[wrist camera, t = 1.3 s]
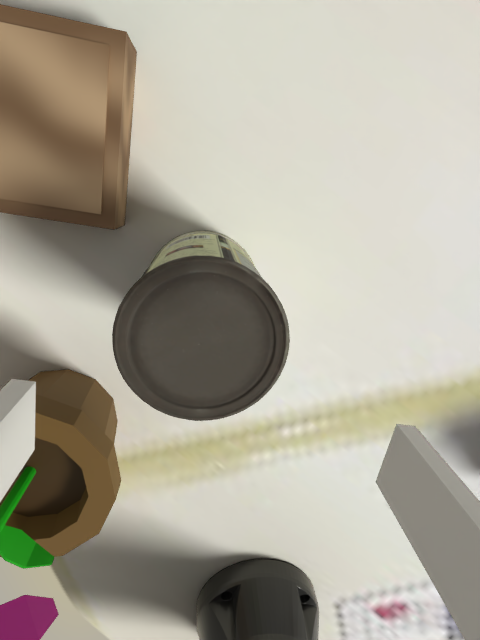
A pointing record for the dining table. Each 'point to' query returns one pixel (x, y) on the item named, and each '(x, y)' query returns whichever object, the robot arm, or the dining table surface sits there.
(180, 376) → the coffee can
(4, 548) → the flowerpot
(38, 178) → the walnut base
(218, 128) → the dining table surface
